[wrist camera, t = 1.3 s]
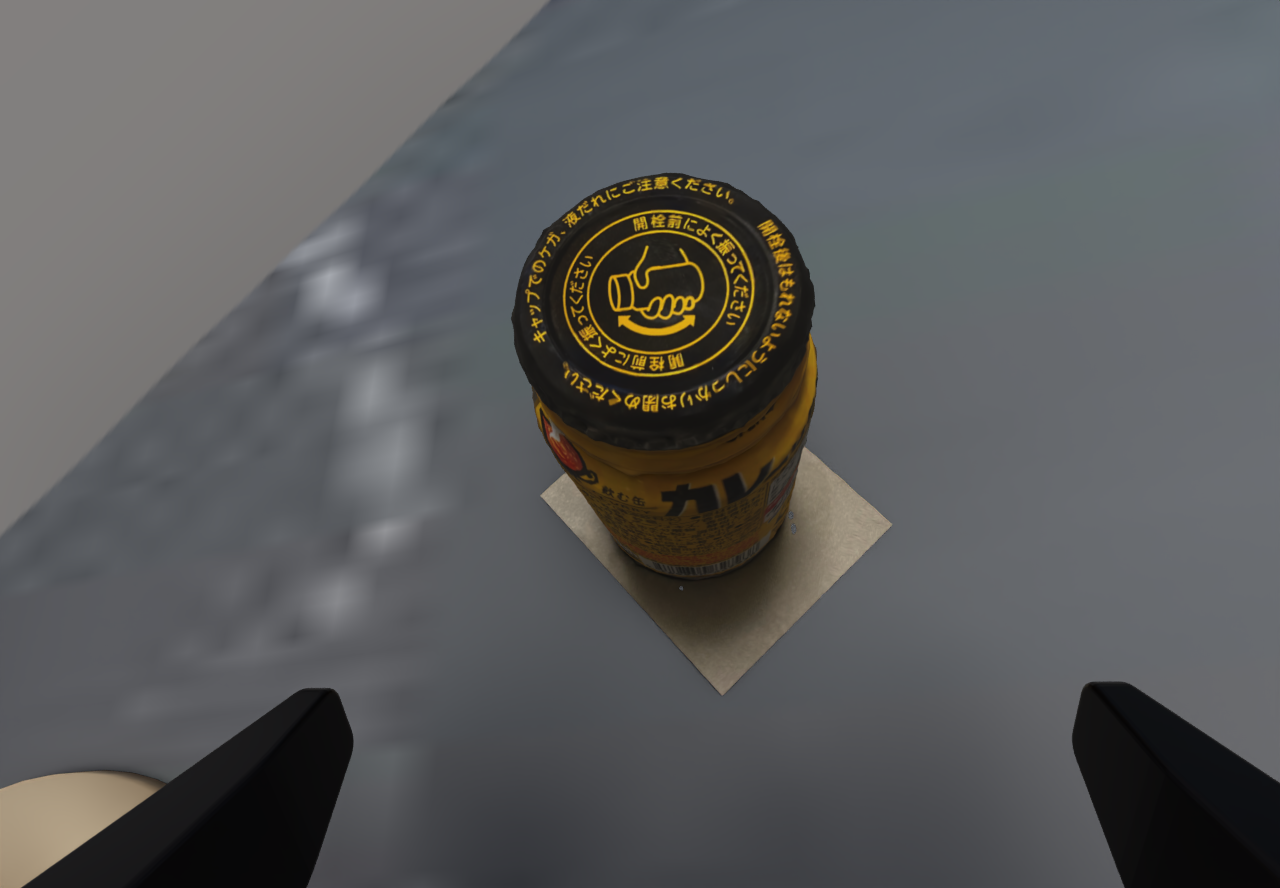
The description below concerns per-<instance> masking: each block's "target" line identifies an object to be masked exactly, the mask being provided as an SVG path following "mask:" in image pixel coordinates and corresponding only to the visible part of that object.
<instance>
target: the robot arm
mask: <svg viewBox="0 0 1280 888" xmlns="http://www.w3.org/2000/svg"><path fill="white" fill-rule="evenodd" d="M1072 744H1073V750H1074V754H1075V757H1076V760H1077V763H1078V765H1079V768H1080V771H1081V773H1082V776H1083V779H1084V781H1085V784H1086V787H1087V789H1088V792H1089V795H1090V797H1091V800H1092V803H1093V805H1094V808H1095V811H1096V813H1097V816H1098V819H1099V821H1100V824H1101V827H1102V829H1103V832H1104V835H1105V837H1106V840H1107V843H1108V845H1109V848H1110V851H1111V853H1112V856H1113V859H1114V861H1115V864H1116V867H1117V869H1118V872H1119V875H1120V877H1121V880H1122V882H1123V884H1124V887H1125V888H1280V783H1279V782H1278V781H1276V780H1275V779H1273V778H1272V777H1270V776H1269V775H1267V774H1266V773H1264V772H1263V771H1261V770H1260V769H1258V768H1257V767H1255V766H1254V765H1252V764H1250V763H1249V762H1247V761H1246V760H1244V759H1243V758H1241V757H1240V756H1238V755H1237V754H1235V753H1234V752H1232V751H1231V750H1229V749H1228V748H1226V747H1225V746H1223V745H1222V744H1220V743H1219V742H1217V741H1216V740H1214V739H1213V738H1211V737H1210V736H1208V735H1207V734H1205V733H1204V732H1202V731H1201V730H1199V729H1198V728H1196V727H1195V726H1193V725H1192V724H1190V723H1189V722H1187V721H1186V720H1184V719H1183V718H1181V717H1180V716H1178V715H1177V714H1175V713H1174V712H1172V711H1170V710H1169V709H1167V708H1166V707H1164V706H1163V705H1161V704H1160V703H1158V702H1157V701H1155V700H1154V699H1152V698H1151V697H1149V696H1148V695H1146V694H1145V693H1143V692H1142V691H1140V690H1139V689H1137V688H1136V687H1134V686H1132V685H1130V684H1128V683H1126V682H1090V683H1087V684H1086V685H1085V686H1084V687H1083V690H1082V692H1081V697H1080V701H1079V705H1078V710H1077V714H1076V719H1075V723H1074V728H1073V733H1072ZM352 751H353V734H352V730H351V727H350V725H349V722H348V719H347V716H346V713H345V711H344V708H343V705H342V702H341V700H340V697H339V695H338V693H337V692H336V691H335V690H334V689H330V688H306V689H302V690H299V691H298V692H296V693H295V694H293V695H292V696H290V697H289V698H288V699H286V700H285V701H283V702H282V703H280V704H279V705H278V706H276V707H275V708H273V709H272V710H271V711H269V712H268V713H266V714H265V715H264V716H262V717H261V718H259V719H258V720H257V721H255V722H254V723H252V724H251V725H250V726H248V727H247V728H245V729H244V730H242V731H241V732H240V733H238V734H237V735H235V736H234V737H233V738H231V739H230V740H228V741H227V742H226V743H224V744H223V745H221V746H220V747H219V748H217V749H216V750H214V751H213V752H211V753H210V754H209V755H207V756H206V757H204V758H203V759H202V760H200V761H199V762H197V763H196V764H195V765H193V766H192V767H190V768H189V769H188V770H186V771H185V772H183V773H182V774H180V775H179V776H178V777H176V778H175V779H173V780H172V781H171V782H169V783H168V784H166V785H165V786H164V787H162V788H161V789H159V790H158V791H157V792H155V793H154V794H152V795H151V796H149V797H148V798H147V799H145V800H144V801H142V802H141V803H140V804H138V805H137V806H135V807H134V808H133V809H131V810H130V811H128V812H127V813H126V814H124V815H123V816H121V817H120V818H118V819H117V820H116V821H114V822H113V823H111V824H110V825H109V826H107V827H106V828H104V829H103V830H102V831H100V832H99V833H97V834H96V835H94V836H93V837H92V838H90V839H89V840H87V841H86V842H85V843H83V844H82V845H80V846H79V847H78V848H76V849H75V850H73V851H72V852H71V853H69V854H68V855H66V856H65V857H63V858H62V859H61V860H59V861H58V862H56V863H55V864H54V865H52V866H51V867H49V868H48V869H47V870H45V871H44V872H42V873H41V874H39V875H38V876H37V877H35V878H34V879H32V880H31V881H30V882H28V883H27V884H25V885H24V886H23V887H21V888H307V885H308V883H309V880H310V878H311V875H312V873H313V870H314V867H315V864H316V861H317V859H318V856H319V853H320V850H321V847H322V844H323V841H324V838H325V835H326V832H327V828H328V825H329V822H330V819H331V816H332V813H333V810H334V807H335V804H336V801H337V798H338V795H339V792H340V789H341V786H342V783H343V780H344V777H345V773H346V770H347V767H348V764H349V761H350V758H351V755H352Z"/></svg>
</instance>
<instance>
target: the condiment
mask: <svg viewBox="0 0 1280 888" xmlns="http://www.w3.org/2000/svg"><path fill="white" fill-rule="evenodd" d="M814 307H815V294H814V286H813V283H812V282H811V280H810V273H809V269H808V268H807V267H806V266H805V263H804V261H803V258H802V256H801V254H800V252H799V249H798V246H797V245H796V242H795V239H794V236H793V235H792V234H791V232H790V231H789V230H788V228H787V227H786V226H785V225H784V224H783V223H782V222H781V221H780V220H779V219H778V218H777V217H776V216H775V215H774V214H772V213H771V212H770V211H769V210H767V209H766V208H765V207H764V206H763V205H762V204H761V203H760V202H759V201H757V200H754V199H752V198H751V197H749V196H748V195H746V194H745V193H744V192H743V191H741V190H738V189H736V188H734V187H733V186H731V185H730V184H728V183H724V182H719V181H712V180H706V179H701V178H696V177H692V176H689V175H685V174H682V173H662V174H658V175H651V176H644V177H639V178H634V179H630V180H626V181H623V182H619V183H616V184H614V185H611V186H609V187H606V188H603V189H601V190H598V191H597V192H595V193H593V194H592V195H590V196H588V197H586V198H585V199H583V200H582V201H581V202H579V203H578V204H577V205H576V206H575V207H573V208H572V209H571V210H569V211H568V212H567V213H565V214H564V215H563V216H562V217H561V218H559V219H558V220H557V221H556V222H554V223H553V224H552V225H551V226H550V227H548V228H546V229H545V230H543V232H542V235H541V236H540V238H539V239H538V241H537V243H536V246H535V248H534V249H533V250H532V252H531V253H530V255H529V256H528V258H527V260H526V262H525V264H524V267H523V269H522V272H521V276H520V279H519V283H518V287H517V292H516V299H515V306H514V309H513V312H512V317H511V320H512V323H513V328H514V345H515V349H516V353H517V355H518V358H519V361H520V364H521V366H522V368H523V370H524V372H525V374H526V376H527V378H528V381H529V383H530V384H531V385H532V391H533V397H532V398H533V401H534V408H535V413H536V416H537V422H538V427H539V429H540V430H541V432H542V434H543V437H544V439H545V441H546V443H547V445H548V446H549V447H550V449H551V451H552V453H553V454H554V456H555V458H556V460H557V461H558V463H559V464H560V465H561V467H562V469H564V471H565V472H566V473H564V474H563V475H562V476H561V477H560V478H559V479H558V480H557V481H555V482H554V483H553V484H552V485H551V486H550V487H549V488H548V489H547V490H546V491H545V492H544V493H543V494H541V495H540V496H541V497H542V498H543V499H544V500H545V501H546V502H547V504H548V505H549V506H550V507H551V508H552V509H553V510H554V511H555V512H556V513H557V515H558V516H559V517H560V518H561V519H562V520H563V521H564V522H565V523H566V524H567V526H568V527H569V528H570V529H571V530H572V531H573V532H574V533H575V534H576V535H577V537H578V538H579V539H580V540H581V541H582V542H583V543H584V544H585V545H586V546H587V548H588V549H589V550H590V551H591V552H592V553H593V554H594V555H595V556H596V557H597V559H598V560H599V561H600V562H601V563H602V564H603V565H604V566H605V567H606V568H607V570H608V571H609V572H610V573H611V574H612V575H613V576H614V577H615V578H616V579H617V581H618V582H619V583H620V584H621V585H622V586H623V587H624V588H625V589H626V591H627V592H628V593H629V594H630V595H631V596H632V597H633V598H634V599H635V600H636V602H637V603H638V604H639V605H640V606H641V607H642V608H643V609H644V610H645V611H646V612H647V613H648V614H649V616H650V617H651V618H652V619H653V620H654V621H655V622H656V623H657V625H658V626H659V627H660V628H661V629H662V630H663V631H664V632H665V633H666V634H667V636H668V637H669V638H670V639H671V640H672V641H673V642H674V644H675V645H676V646H677V647H678V648H679V649H680V650H681V651H682V652H683V653H684V654H685V655H686V657H687V658H688V659H689V660H690V661H691V662H692V663H693V664H694V665H695V666H696V667H697V669H698V670H699V671H700V672H701V673H702V674H703V675H704V676H705V677H706V679H707V680H708V681H709V682H710V683H711V684H712V685H713V686H714V687H715V688H716V690H717V691H718V692H719V693H720V694H721V695H724V694H725V693H726V692H727V691H728V690H729V689H730V688H731V687H732V686H733V685H734V684H735V683H736V682H737V681H738V680H739V679H740V677H741V676H742V675H743V674H745V673H746V672H747V671H748V670H749V669H750V668H751V667H752V666H753V665H754V664H755V662H756V661H757V660H758V659H759V658H760V657H761V656H762V655H763V654H764V653H765V652H766V651H767V650H768V649H769V648H770V647H771V646H772V645H773V644H774V643H775V642H776V641H777V640H778V639H779V638H780V637H781V636H782V635H784V634H785V633H786V631H787V630H788V629H789V628H790V627H791V626H792V625H793V624H794V623H795V622H796V621H797V620H798V619H799V618H800V617H801V616H802V615H803V614H804V613H805V612H806V611H807V610H808V609H809V608H810V607H811V606H812V605H813V604H814V603H815V602H816V601H817V600H818V599H819V598H820V597H821V595H822V594H824V593H825V592H826V591H827V590H828V589H829V588H830V587H831V586H832V585H833V584H834V583H835V582H836V581H837V580H838V579H839V578H840V577H841V576H842V575H843V574H844V573H845V572H846V571H847V570H848V569H849V568H850V567H851V566H852V565H853V564H854V563H855V562H856V561H857V560H858V559H859V558H860V557H861V556H862V555H863V554H864V553H865V552H866V551H867V550H868V549H869V548H870V547H871V546H872V545H873V544H874V543H875V542H876V541H877V540H878V539H879V538H880V537H881V536H882V535H883V534H884V533H885V532H886V531H887V530H888V529H889V528H890V527H891V526H892V524H891V523H890V522H889V521H888V520H887V519H886V518H884V517H883V516H882V515H881V514H880V513H879V512H878V511H877V510H876V509H875V508H874V507H873V506H871V505H870V504H869V503H868V502H867V501H866V500H865V499H863V498H862V497H861V496H860V495H858V494H857V493H856V492H855V491H854V490H853V489H852V488H851V487H850V486H849V485H848V484H847V483H846V482H845V481H844V480H843V479H841V478H840V477H839V476H838V475H836V474H835V473H833V472H832V471H831V470H830V469H829V468H828V467H827V466H826V465H825V464H824V463H823V462H822V461H821V460H820V459H819V458H818V457H816V456H815V455H814V454H812V453H811V452H810V451H809V450H808V449H807V448H806V447H805V444H806V441H807V433H808V430H809V426H810V422H811V418H812V415H813V412H814V406H815V397H816V387H817V380H818V377H817V376H818V371H817V363H816V361H817V352H816V347H815V345H814V343H813V340H812V337H811V334H810V330H811V327H812V321H811V318H812V315H813V310H814ZM790 511H792V512H793V513H794V518H793V519H791V520H790V519H789V518H788V514H789V512H790ZM792 523H794V524H795V525H796V529H797V531H796V533H795V534H792V532H791V524H792ZM680 586H683V591H681V590H680V589H679V587H680Z"/></svg>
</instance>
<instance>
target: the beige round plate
mask: <svg viewBox="0 0 1280 888" xmlns="http://www.w3.org/2000/svg"><path fill="white" fill-rule="evenodd" d="M165 785H166V783H164V782H161V781H159V780H157V779H153V778H150V777H146V776H142V775H139V774H135V773H130V772H120V771H109V770H102V771H86V772H74V773H65V774H55V775H49V776H44V777H39V778H35V779H30V780H25V781H22V782H19V783H16V784H13V785H11V786H8V787H5V788H2V789H0V888H21V887H23V886H24V885H25V884H27V883H28V882H30V881H31V880H32V879H34V878H35V877H37V876H38V875H39V874H41V873H42V872H44V871H45V870H47V869H48V868H49V867H51V866H52V865H54V864H55V863H56V862H58V861H59V860H61V859H62V858H63V857H65V856H66V855H68V854H69V853H71V852H72V851H73V850H75V849H76V848H78V847H79V846H80V845H82V844H83V843H85V842H86V841H87V840H89V839H90V838H92V837H93V836H94V835H96V834H97V833H99V832H100V831H102V830H103V829H104V828H106V827H107V826H109V825H110V824H111V823H113V822H114V821H116V820H117V819H118V818H120V817H121V816H123V815H124V814H126V813H127V812H128V811H130V810H131V809H133V808H134V807H135V806H137V805H138V804H140V803H141V802H142V801H144V800H145V799H147V798H148V797H149V796H151V795H152V794H154V793H155V792H157V791H158V790H159V789H161V788H162V787H164V786H165Z"/></svg>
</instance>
